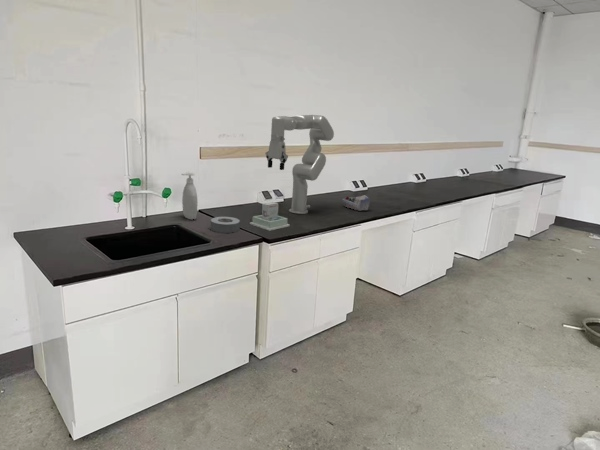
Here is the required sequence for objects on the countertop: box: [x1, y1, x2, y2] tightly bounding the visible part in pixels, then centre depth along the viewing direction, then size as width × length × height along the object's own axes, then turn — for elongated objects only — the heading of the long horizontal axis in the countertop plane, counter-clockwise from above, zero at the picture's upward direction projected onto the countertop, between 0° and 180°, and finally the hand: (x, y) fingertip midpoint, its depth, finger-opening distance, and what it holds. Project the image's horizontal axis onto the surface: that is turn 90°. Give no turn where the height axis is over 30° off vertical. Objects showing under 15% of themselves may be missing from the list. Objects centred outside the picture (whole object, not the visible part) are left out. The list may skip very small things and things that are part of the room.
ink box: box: [261, 201, 279, 221], centre depth 232 cm, size 9×5×12 cm, turn 140°
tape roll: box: [210, 216, 241, 234], centre depth 220 cm, size 15×15×5 cm
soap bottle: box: [181, 170, 198, 221], centre depth 233 cm, size 14×8×27 cm, turn 41°
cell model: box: [341, 194, 370, 212], centre depth 291 cm, size 13×11×20 cm
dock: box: [249, 214, 291, 232], centre depth 233 cm, size 16×16×4 cm
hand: (275, 168), depth 241 cm, fingers open, 9 cm apart
